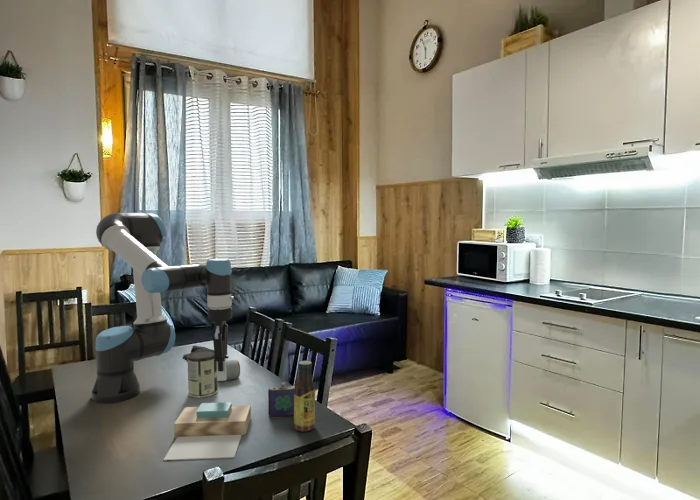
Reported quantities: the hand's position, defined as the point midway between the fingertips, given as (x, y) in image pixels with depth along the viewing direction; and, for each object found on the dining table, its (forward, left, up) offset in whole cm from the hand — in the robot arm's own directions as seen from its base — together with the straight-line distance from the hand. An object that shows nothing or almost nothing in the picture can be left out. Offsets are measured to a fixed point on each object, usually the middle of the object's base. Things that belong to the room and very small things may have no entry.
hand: (221, 379), depth 142 cm
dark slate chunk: (-19, +55, -11) cm, 59 cm away
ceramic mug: (-5, +31, -11) cm, 33 cm away
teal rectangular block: (0, -10, -7) cm, 12 cm away
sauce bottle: (+27, -13, -11) cm, 32 cm away
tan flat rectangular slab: (0, -10, -11) cm, 15 cm away
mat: (0, -22, -11) cm, 25 cm away
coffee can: (-10, +17, -11) cm, 23 cm away
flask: (+20, -4, -11) cm, 23 cm away
